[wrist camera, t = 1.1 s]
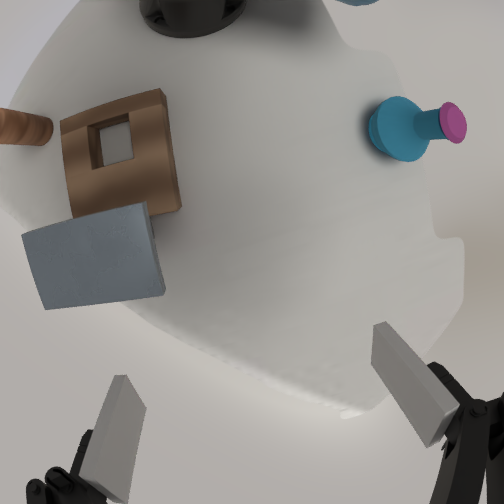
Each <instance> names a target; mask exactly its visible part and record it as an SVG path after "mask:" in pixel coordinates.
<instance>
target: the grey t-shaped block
mask: <svg viewBox="0 0 504 504" xmlns="http://www.w3.org/2000/svg"><path fill="white" fill-rule="evenodd" d="M21 236H22V240H23V244H24V247H25V251H26V255H27V258H28V262H29V265H30V268H31V272H32V275H33V278H34V281H35V284H36V287H37V290H38V292H39V295H40V298H41V301H42V303H43V306H44V308H45V310H50V309H59V308H69V307H77V306H86V305H95V304H102V303H111V302H119V301H126V300H134V299H142V298H149V297H156V296H163V295H164V293H165V290H166V287H165V283H164V279H163V275H162V271H161V267H160V263H159V259H158V255H157V251H156V246H155V242H154V233H153V229H152V224H151V219H150V217H149V213H148V208H147V203H146V201H143V202H138V203H134V204H129V205H125V206H121V207H116V208H112V209H108V210H104V211H100V212H96V213H92V214H88V215H84V216H81V217H77V218H73V219H69V220H66V221H62V222H59V223H55V224H52V225H48V226H45V227H42V228H38V229H35V230H32V231H29V232H26V233H24V234H22V235H21Z"/></svg>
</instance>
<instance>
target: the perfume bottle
mask: <svg viewBox="0 0 504 504" xmlns="http://www.w3.org/2000/svg"><path fill="white" fill-rule="evenodd" d="M368 130H369V135H370V138H371V140H372V142H373V144H374V145H375V146H376V147H377V148H378V149H379V150H381V151H383V152H385V153H387V154H388V155H389V156H391V157H393V158H395V159H397V160H400V161H405V162H412V161H415V160H417V159H419V158H420V157H421V156H422V155H423V154H424V153H425V151H426V149H427V146H428V144H429V141H430V140H434V139H447V140H450V141H451V142H453V143H456V144H457V143H460V142H462V141H463V140H464V138H465V135H466V131H467V124H466V120H465V117H464V115H463V113H462V112H461V110H460V109H459V108H458V107H457V106H456V105H455V104H453V103H451V102H446V103H444V104H443V105H442V107H440V108H439V109H434V110H429V111H424V112H423V111H422V110H421V109H420V108H419V107H418V106H417V105H416V104H414V103H413V102H412V101H410V100H409V99H407V98H404V97H400V96H395V97H391V98H389V99H387V100H385V101H384V102H382V103H381V104H380V105H379V107H378V108H377V110H376V111H375V113H374V114H373V115H372V116H371V118H370V121H369V126H368Z"/></svg>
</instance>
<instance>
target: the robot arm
mask: <svg viewBox="0 0 504 504" xmlns="http://www.w3.org/2000/svg"><path fill="white" fill-rule="evenodd" d="M337 1H340V2H343V3H345V4H348V5H353V6H360V5H369V4H372V3H374V2H377V1H378V0H337ZM139 4H140V11H141V14H142V16H143V18H144V20H145V21H146V23H147V24H148V25H149V26H150V27H151V28H152V29H153V30H155V31H156V32H158V33H161V34H163V35H166V36H171V37H178V38H191V37H199V36H204V35H207V34H211V33H214V32H216V31H219V30H221V29H223V28H225V27H226V26H228V25H229V24H231V23H232V22H233V21H235V20H236V19H237V18H238V17H239V16H240V14H241V13H242V11H243V10H244V7H245V5H246V0H140V3H139ZM371 365H372V366H373V368H374V369H375V370H376V372H377V373H378V375H379V376H380V378H381V379H382V381H383V382H384V384H385V385H386V387H387V388H388V390H389V391H390V393H391V394H392V396H393V397H394V399H395V400H396V402H397V403H398V405H399V406H400V408H401V409H402V411H403V412H404V414H405V415H406V417H407V418H408V420H409V422H410V423H411V424H412V426H413V428H414V429H415V431H416V432H417V434H418V435H419V437H420V439H421V440H422V442H423V443H424V445H425V447H426V448H429V447H430V446H432V445H434V444H436V443H437V442H439V441H440V440H441V438H442V437H443V435H444V434H445V436H446V437H447V440H446V442H445V443H444V445H443V446H442V449H441V450H443V449H444V448H445V449H444V454H443V458H442V462H441V467H440V470H439V474H438V478H437V481H436V485H435V488H434V491H433V494H432V497H431V500H430V503H429V504H478V503H479V499H480V494H481V490H482V485H483V479H484V474H485V468H486V483H487V504H504V392H503V394H502V396H501V397H499V398H497V399H494V400H491V401H488V402H485V401H484V400H480V399H473V398H472V397H471V396H470V395H469V394H468V393H467V392H466V391H465V389H464V388H463V387H462V386H461V385H460V384H459V383H458V382H457V381H456V380H455V379H454V377H453V376H452V375H451V374H449V372H448V371H447V370H446V369H445V368H444V366H442V365H440V364H438V363H436V362H432V363H430V364H428V365H426V364H425V363H424V362H423V361H422V360H421V359H420V358H419V357H418V355H417V354H416V353H415V352H414V351H413V350H412V349H411V348H410V347H409V345H408V344H407V343H406V342H405V341H404V340H403V339H402V338H401V337H400V336H399V335H398V334H397V332H396V331H395V330H394V329H393V328H392V327H391V326H390V325H389V324H388V323H387V322H386V321H385V322H382V323H379V324H376V325H374V328H373V344H372V356H371ZM145 412H146V407H145V405H144V403H143V402H142V400H141V398H140V397H139V395H138V394H137V392H136V390H135V389H134V387H133V385H132V383H131V382H130V380H129V378H128V377H127V375H115V376H114V378H113V381H112V383H111V386H110V388H109V391H108V393H107V396H106V398H105V401H104V403H103V406H102V409H101V411H100V414H99V417H98V419H97V422H96V425H95V428H94V430H87V432H86V433H85V434H84V435H83V436H82V439H81V442H80V444H79V445H80V446H79V447H78V450H77V453H76V456H75V458H74V461H73V464H72V467H71V470H70V473H67V472H66V471H65V470H64V469H62V468H61V467H52V468H51V469H49V470H48V471H47V473H46V475H45V483H46V484H45V483H43V482H42V481H41V480H39V479H32V480H30V481H29V482H28V484H27V486H26V498H27V504H107V502H106V500H107V498H109V499H110V500H112V501H113V502H116V503H122V504H128V499H129V493H130V487H131V481H132V475H133V469H134V465H135V459H136V454H137V449H138V444H139V439H140V435H141V430H142V426H143V421H144V416H145Z"/></svg>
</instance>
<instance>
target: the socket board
mask: <svg viewBox="0 0 504 504" xmlns="http://www.w3.org/2000/svg"><path fill="white" fill-rule="evenodd" d="M125 121H129V122H130V131H131V140H132V147H133V155H134V159H130V160H126V161H122V162H119V163H115V164H111V165H108V166H104V165H103V157H102V150H101V141H100V132H99V129H102V128H105V127H109V126H112V125H115V124H118V123H122V122H125ZM60 130H61V142H62V153H63V161H64V169H65V176H66V183H67V189H68V195H69V200H70V206H71V211H72V215H73V218H77V217H81V216H84V215H88V214H92V213H96V212H100V211H104V210H108V209H112V208H116V207H121V206H125V205H129V204H134V203H138V202H143V201H146V203H147V208H148V213H149V216H153V215H158V214H163V213H168V212H174V211H178V210H179V209H180V208H181V207H182V204H181V199H180V193H179V187H178V181H177V174H176V168H175V161H174V155H173V148H172V141H171V133H170V125H169V117H168V109H167V100H166V96H165V94H164V93H163V92H162V90H161V89H160V88H158V89H154V90H150V91H146V92H143V93H139V94H135V95H132V96H128V97H125V98H121V99H118V100H115V101H112V102H109V103H106V104H103V105H100V106H97V107H94V108H91V109H89V110H86V111H83V112H81V113H78V114H76V115H73V116H71V117H68V118H66V119H63V120H61V121H60Z"/></svg>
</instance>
